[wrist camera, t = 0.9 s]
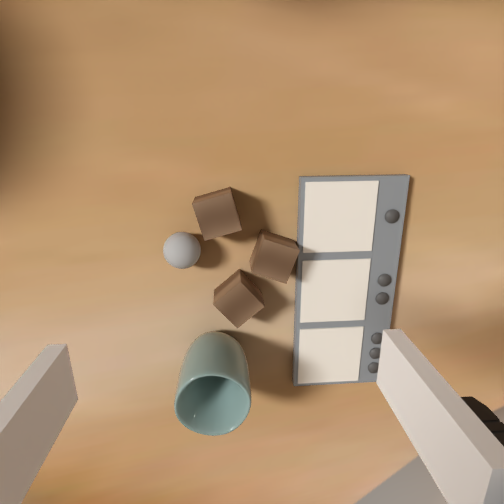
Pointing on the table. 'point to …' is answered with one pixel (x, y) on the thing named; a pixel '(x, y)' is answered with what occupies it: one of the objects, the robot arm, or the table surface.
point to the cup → (213, 385)
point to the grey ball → (182, 250)
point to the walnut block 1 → (217, 214)
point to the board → (345, 274)
